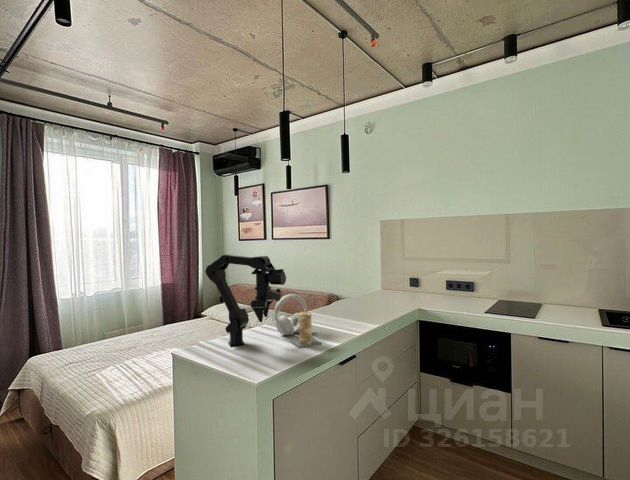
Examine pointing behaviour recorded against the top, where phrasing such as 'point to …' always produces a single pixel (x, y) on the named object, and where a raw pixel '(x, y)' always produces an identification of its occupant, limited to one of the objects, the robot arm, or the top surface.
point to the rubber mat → (297, 344)
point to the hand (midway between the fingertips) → (263, 319)
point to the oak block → (305, 328)
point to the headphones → (283, 322)
